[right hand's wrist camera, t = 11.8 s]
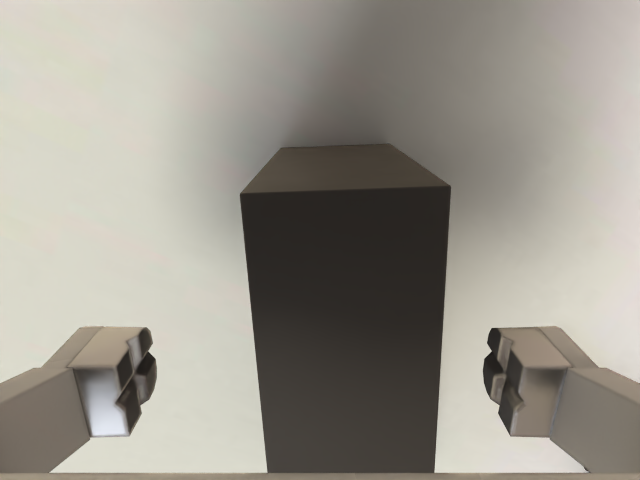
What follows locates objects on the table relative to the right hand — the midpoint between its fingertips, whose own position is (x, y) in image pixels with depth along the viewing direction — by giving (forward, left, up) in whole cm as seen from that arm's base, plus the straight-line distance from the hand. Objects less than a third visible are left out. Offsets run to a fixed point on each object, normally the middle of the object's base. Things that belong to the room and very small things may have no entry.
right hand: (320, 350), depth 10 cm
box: (+7, +5, -16) cm, 18 cm away
